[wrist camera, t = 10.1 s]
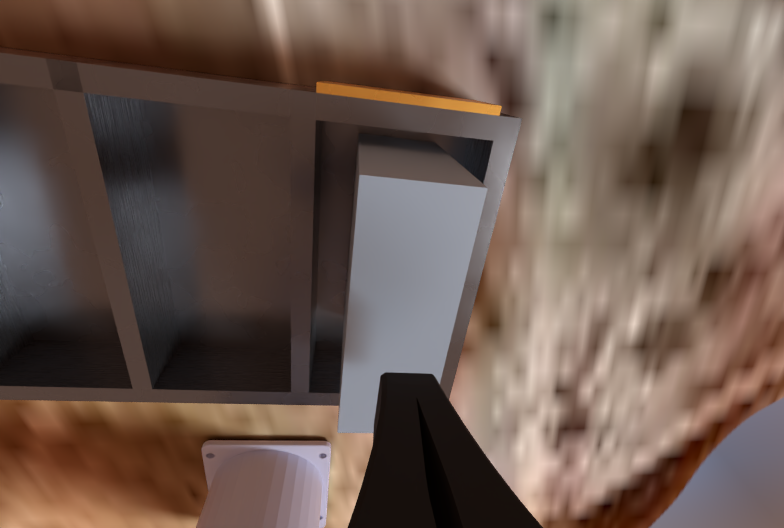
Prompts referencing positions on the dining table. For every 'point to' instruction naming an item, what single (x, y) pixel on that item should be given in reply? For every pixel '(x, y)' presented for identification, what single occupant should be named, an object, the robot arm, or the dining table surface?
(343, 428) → the panel
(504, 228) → the dining table surface
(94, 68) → the rack
